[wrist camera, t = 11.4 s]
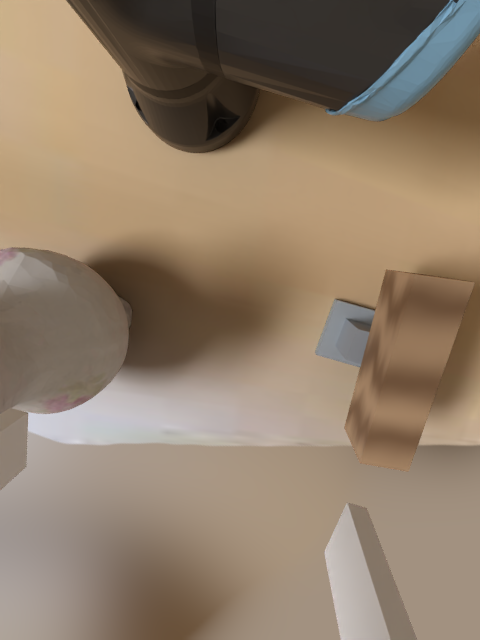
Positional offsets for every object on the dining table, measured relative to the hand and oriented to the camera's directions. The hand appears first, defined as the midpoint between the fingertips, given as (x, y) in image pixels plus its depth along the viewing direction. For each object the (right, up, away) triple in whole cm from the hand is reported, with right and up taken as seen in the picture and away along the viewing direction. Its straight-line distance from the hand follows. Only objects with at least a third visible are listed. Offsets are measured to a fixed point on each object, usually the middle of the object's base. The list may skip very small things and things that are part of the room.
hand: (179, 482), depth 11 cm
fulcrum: (+21, +4, +27) cm, 34 cm away
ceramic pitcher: (-21, +6, +30) cm, 37 cm away
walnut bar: (+19, +2, +21) cm, 29 cm away
